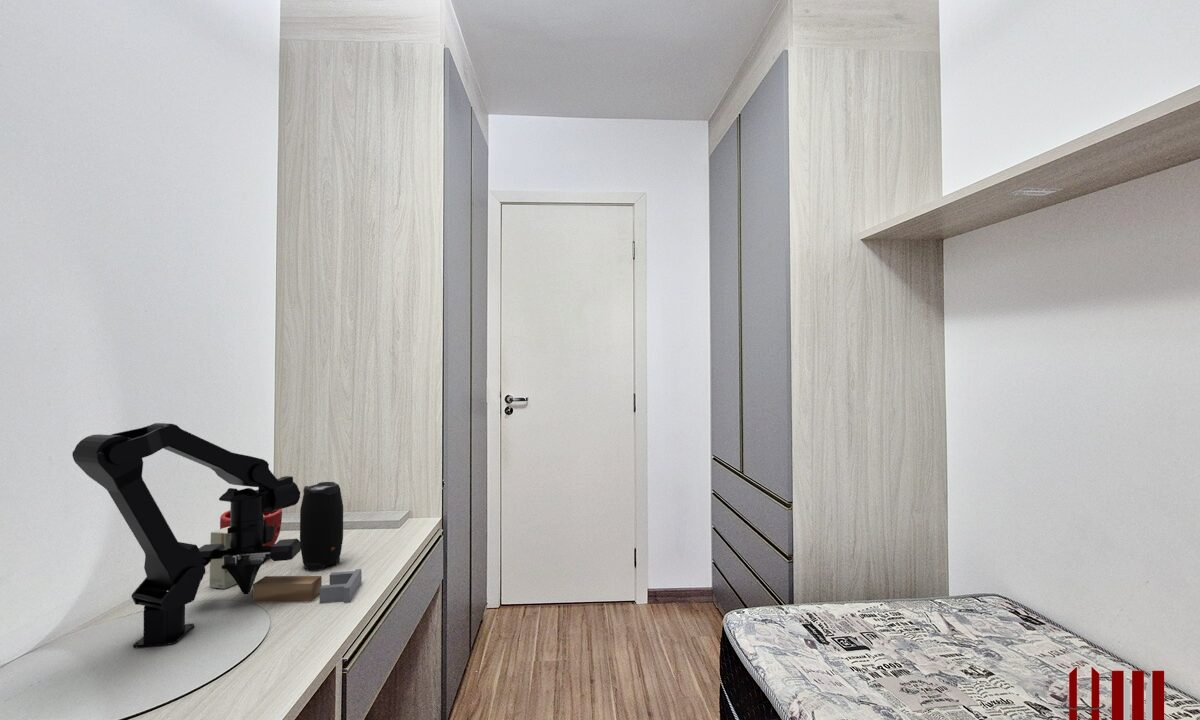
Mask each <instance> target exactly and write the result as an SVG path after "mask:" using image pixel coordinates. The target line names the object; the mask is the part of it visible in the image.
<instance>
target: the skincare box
mask: <svg viewBox="0 0 1200 720" xmlns="http://www.w3.org/2000/svg"><path fill="white" fill-rule="evenodd" d="M229 527H230V526H229ZM229 527H226V528H222V529H220V528H219V529H217V530H214V531H211V532H210V544H223V545H224V546H225V549H226V548H229V547H230V533H228V528H229ZM248 562H249V561H248ZM222 565H224V558H223V559H211V562H210V563H209V588H216V589H223V590H224V589H225V590H226V589H228V588H231V587H232V586H234V585H238V584H237V582H236V581H235V579H234V578H233V577H232V576H231V574H230V573H229V572H228V571H227V569H222V568H221V566H222Z"/></svg>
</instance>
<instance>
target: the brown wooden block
mask: <svg viewBox="0 0 1200 720" xmlns="http://www.w3.org/2000/svg"><path fill="white" fill-rule="evenodd" d="M322 579H323V577H322V575H281V576H280V575H277V576H276V575H275V576H274V575H270V576H269V575H265V576H264V577H261V578H260V579H259V580H257V581H256V582H254V583H253V586H252V603H299V602H300V603H301V602H303V603H306V602H307V603H308V602H310V603H311V602H313V601H314V600H315V599H317V598H318V597H320V587H321V586H323V585H322V584H323V583H322Z"/></svg>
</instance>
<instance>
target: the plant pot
mask: <svg viewBox="0 0 1200 720" xmlns="http://www.w3.org/2000/svg"><path fill="white" fill-rule="evenodd" d="M263 516H264V519H266V525H269V526H275V529H274V536H273V541H269V542H268V543H267V544H263V546H271V545H275V544H276V543H277V540H278V537H279V535H280V532H281V527H282V521H283V520H282V519H283V509H280V510H276V511H273V512H266V511H264V514H263ZM229 526H230V509H229V510H228V511H227V510H226V511H224V512H223V513H221V515H220V518H219V530H220V529H222V528H226V527H229ZM254 552H255V551H254ZM249 561H250V557H249Z"/></svg>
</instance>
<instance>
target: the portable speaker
mask: <svg viewBox="0 0 1200 720" xmlns="http://www.w3.org/2000/svg"><path fill="white" fill-rule="evenodd" d="M302 491H303V492H302V493H303V496H302V500H301V505H300V509H299V510H300V511H299V541H300V543H301V551H300V552H301V553H300V554H301V558H302V564H303V566H304V568H305V569H306V570H307V572H308V571H310V572H311V571H315V572H316V571H322V570H324V568H325V567H326V566H330V565H332V564H333V565H334V566H337V565H338V564H339V563H340V561H341V558H340V557H341V555H342V548H343V540H344V504H343V497H342V492H341V487H340V485H339V484H338V483H337V482H335V481H323V482H322V481H321V482H318V483H316V484H313V485H306V486H305V485H304V487H303V490H302Z"/></svg>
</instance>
